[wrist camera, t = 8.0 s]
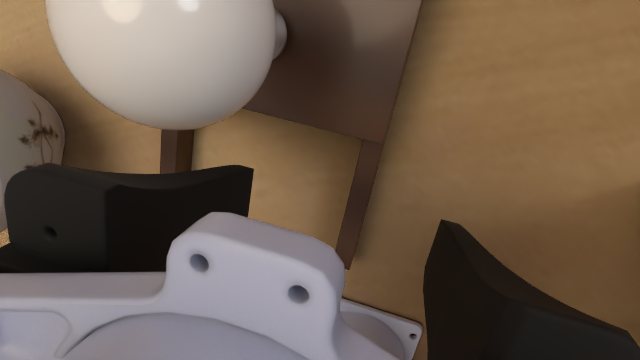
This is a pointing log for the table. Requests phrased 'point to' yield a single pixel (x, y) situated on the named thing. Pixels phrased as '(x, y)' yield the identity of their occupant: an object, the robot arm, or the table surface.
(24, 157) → the teacup
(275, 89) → the rack
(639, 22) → the table surface
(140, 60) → the lightbulb
